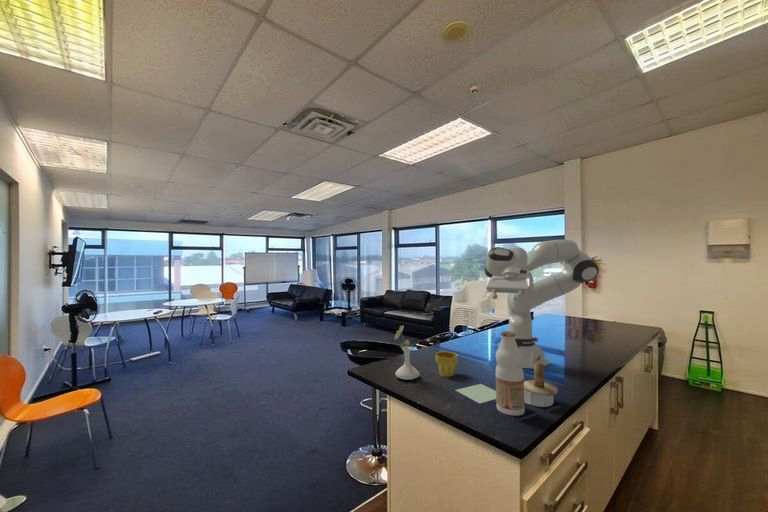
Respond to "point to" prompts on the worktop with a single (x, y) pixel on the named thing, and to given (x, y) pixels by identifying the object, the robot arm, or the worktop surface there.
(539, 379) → the lid
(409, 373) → the flower in vase
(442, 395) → the worktop surface
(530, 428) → the worktop surface
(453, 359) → the plant pot
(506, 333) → the fruit juice
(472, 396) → the mat
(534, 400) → the bowl
